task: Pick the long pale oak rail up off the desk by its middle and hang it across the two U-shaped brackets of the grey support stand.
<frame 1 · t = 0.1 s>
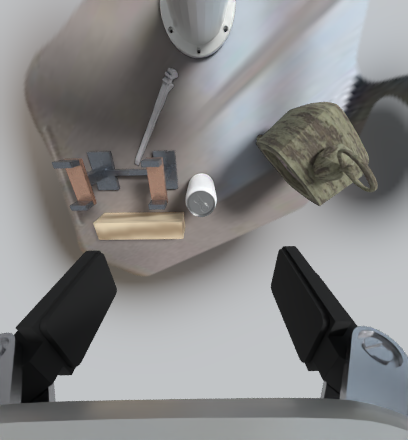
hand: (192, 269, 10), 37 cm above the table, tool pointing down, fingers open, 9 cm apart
can: (201, 185, 45), on the table
rail: (146, 219, 50), on the table
tabletop clock: (282, 146, 41), on the table
grey support stand: (135, 170, 43), on the table
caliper: (154, 123, 39), on the table
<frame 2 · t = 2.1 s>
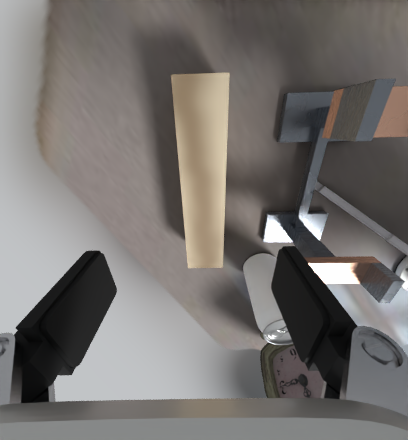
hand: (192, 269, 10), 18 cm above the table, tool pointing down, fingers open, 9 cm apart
can: (259, 264, 33), on the table
rail: (203, 181, 26), on the table
tabletop clock: (288, 325, 42), on the table
grey support stand: (302, 179, 25), on the table
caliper: (355, 214, 28), on the table
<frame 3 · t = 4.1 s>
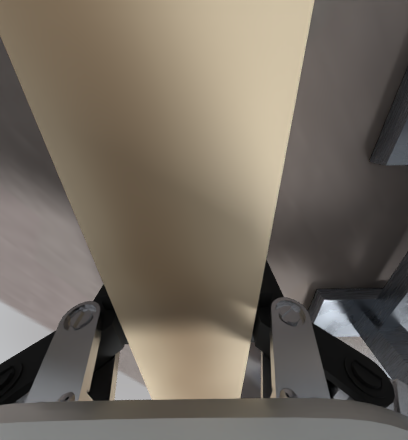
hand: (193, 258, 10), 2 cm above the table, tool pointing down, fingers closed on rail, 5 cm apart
rail: (194, 240, 12), on the table, touching gripper
grey support stand: (405, 236, 12), on the table
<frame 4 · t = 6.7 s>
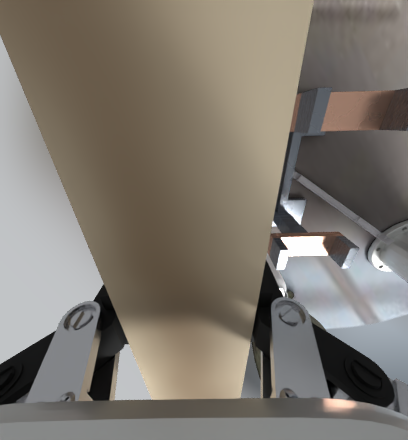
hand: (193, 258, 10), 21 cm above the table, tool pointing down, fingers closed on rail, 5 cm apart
can: (249, 248, 37), on the table
rail: (194, 240, 12), point 19 cm above the table, touching gripper
grey support stand: (283, 169, 29), on the table
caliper: (330, 201, 32), on the table
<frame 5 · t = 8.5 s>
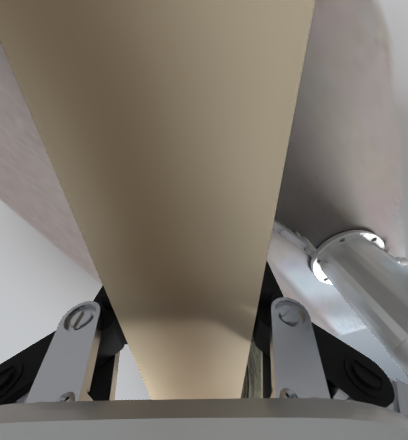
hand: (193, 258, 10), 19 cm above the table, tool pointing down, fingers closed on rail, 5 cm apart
rail: (194, 240, 12), point 17 cm above the table, touching gripper
tabletop clock: (225, 317, 44), on the table
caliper: (259, 210, 30), on the table
when the fingers open (14 cm above the table, at t = 9.7 s): rail drops 1 cm, resting on grey support stand.
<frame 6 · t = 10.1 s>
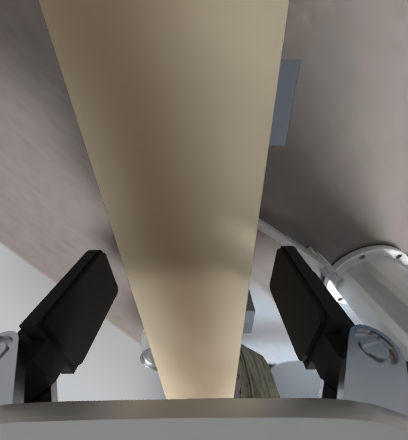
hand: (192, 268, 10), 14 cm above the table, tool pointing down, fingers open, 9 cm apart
can: (178, 277, 30), on the table
rail: (196, 231, 13), point 10 cm above the table, touching grey support stand
tabletop clock: (227, 337, 39), on the table
grey support stand: (198, 186, 22), on the table
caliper: (267, 223, 26), on the table
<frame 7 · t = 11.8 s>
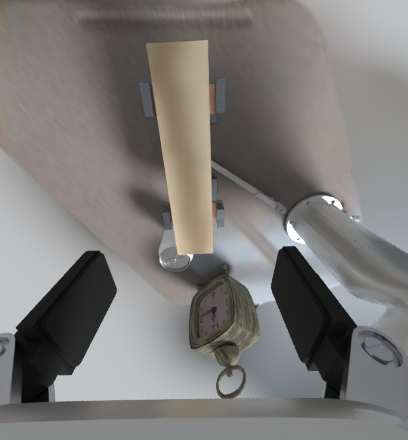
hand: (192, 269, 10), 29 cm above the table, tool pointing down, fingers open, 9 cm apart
can: (181, 225, 42), on the table
rail: (190, 165, 25), point 10 cm above the table, touching grey support stand
tabletop clock: (219, 279, 51), on the table
grey support stand: (192, 153, 34), on the table
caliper: (240, 180, 37), on the table
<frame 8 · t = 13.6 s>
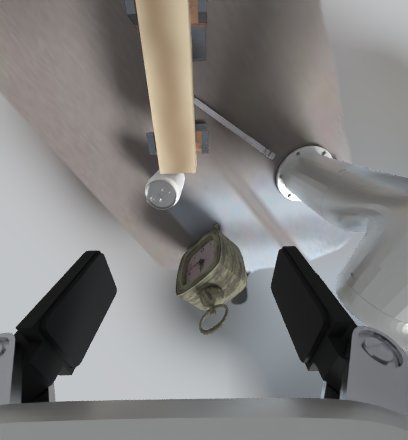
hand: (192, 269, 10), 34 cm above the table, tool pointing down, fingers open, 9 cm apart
can: (171, 177, 42), on the table
rail: (175, 84, 25), point 10 cm above the table, touching grey support stand
tabletop clock: (210, 241, 51), on the table
grey support stand: (182, 94, 34), on the table
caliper: (231, 128, 37), on the table
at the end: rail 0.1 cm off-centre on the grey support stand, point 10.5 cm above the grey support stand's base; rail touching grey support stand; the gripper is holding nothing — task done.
